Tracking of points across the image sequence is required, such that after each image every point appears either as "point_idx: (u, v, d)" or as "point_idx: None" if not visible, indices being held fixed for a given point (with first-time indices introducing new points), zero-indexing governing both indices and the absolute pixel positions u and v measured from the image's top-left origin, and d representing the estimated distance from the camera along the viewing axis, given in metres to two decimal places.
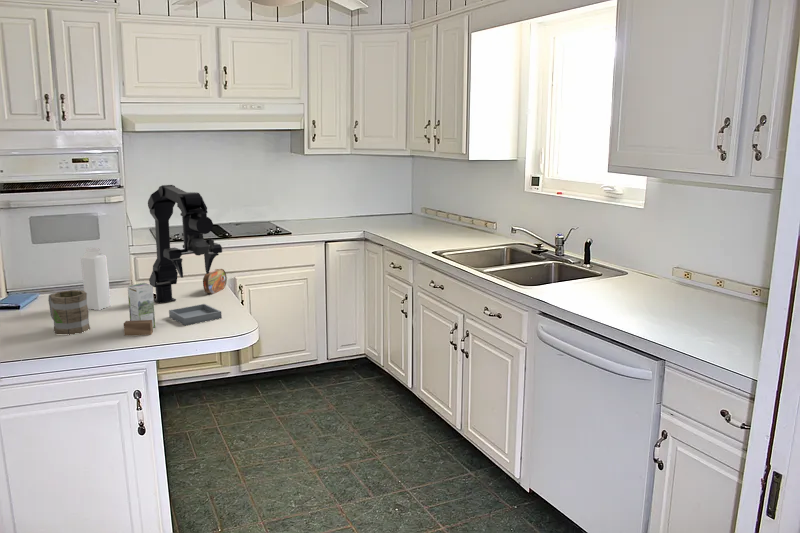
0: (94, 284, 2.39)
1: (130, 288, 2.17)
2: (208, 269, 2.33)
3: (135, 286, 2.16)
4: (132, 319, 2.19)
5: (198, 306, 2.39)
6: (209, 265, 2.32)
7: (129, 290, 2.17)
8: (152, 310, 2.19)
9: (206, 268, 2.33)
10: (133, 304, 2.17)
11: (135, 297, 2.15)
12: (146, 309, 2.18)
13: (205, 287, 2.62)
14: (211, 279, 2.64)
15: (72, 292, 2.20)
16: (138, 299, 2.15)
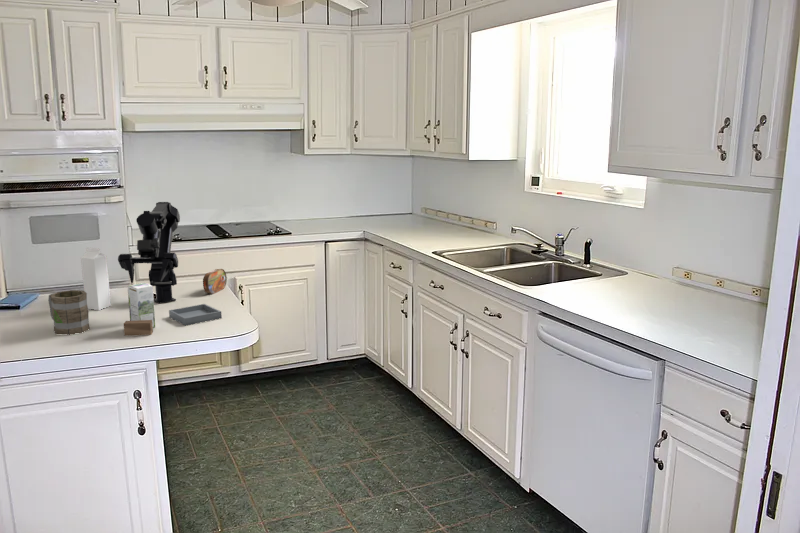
0: (94, 284, 2.39)
1: (130, 288, 2.17)
2: (160, 276, 2.27)
3: (135, 286, 2.16)
4: (132, 319, 2.19)
5: (198, 306, 2.39)
6: (161, 272, 2.28)
7: (129, 290, 2.17)
8: (152, 310, 2.19)
9: None
10: (133, 304, 2.17)
11: (135, 297, 2.15)
12: (146, 309, 2.18)
13: (205, 287, 2.62)
14: (211, 279, 2.64)
15: (72, 292, 2.20)
16: (138, 299, 2.15)
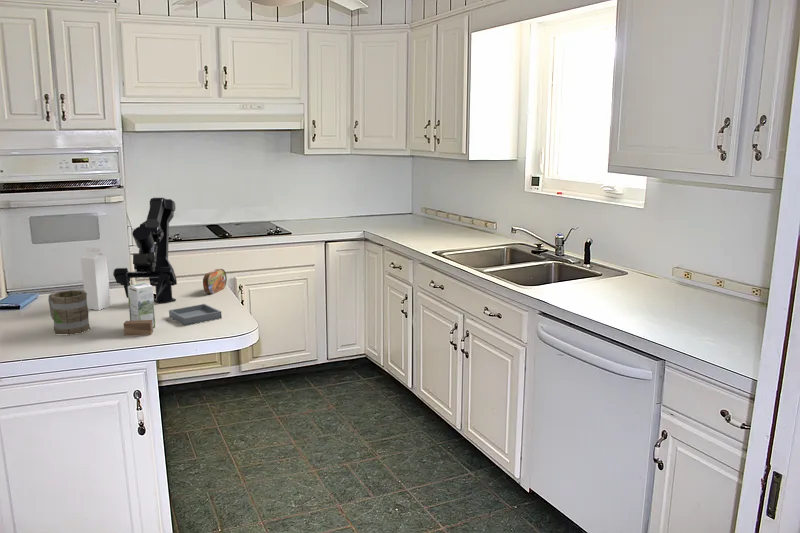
0: (94, 284, 2.39)
1: (130, 288, 2.17)
2: (157, 291, 2.21)
3: (135, 286, 2.16)
4: (132, 319, 2.19)
5: (198, 306, 2.39)
6: (158, 286, 2.22)
7: (129, 290, 2.17)
8: (152, 310, 2.19)
9: None
10: (133, 304, 2.17)
11: (135, 297, 2.15)
12: (146, 309, 2.18)
13: (205, 287, 2.62)
14: (211, 279, 2.64)
15: (72, 292, 2.20)
16: (138, 299, 2.15)
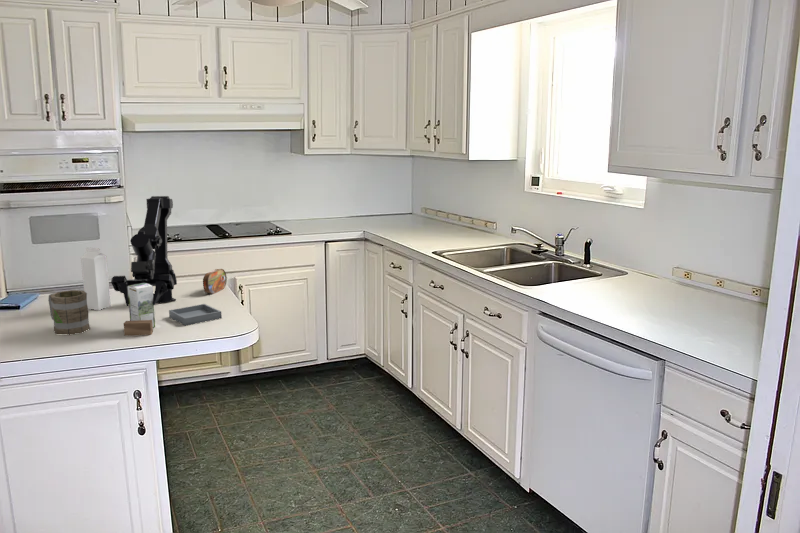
0: (94, 284, 2.39)
1: (130, 288, 2.16)
2: (154, 299, 2.19)
3: (135, 286, 2.16)
4: (132, 319, 2.19)
5: (198, 306, 2.39)
6: (155, 294, 2.19)
7: (129, 290, 2.17)
8: (152, 310, 2.19)
9: None
10: (133, 304, 2.17)
11: (135, 297, 2.15)
12: (146, 309, 2.18)
13: (205, 287, 2.62)
14: (211, 279, 2.64)
15: (72, 292, 2.20)
16: (138, 299, 2.15)
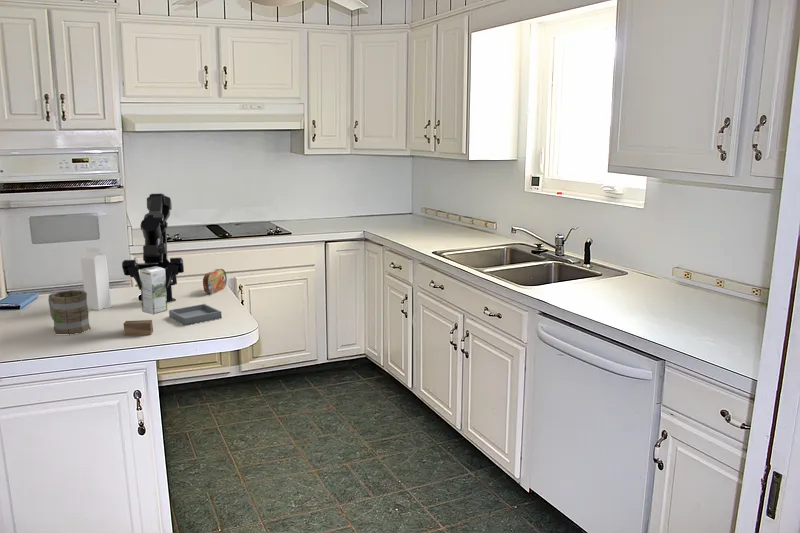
0: (94, 284, 2.39)
1: (143, 272, 2.17)
2: (166, 282, 2.20)
3: (148, 269, 2.17)
4: (144, 303, 2.19)
5: (198, 306, 2.39)
6: (167, 278, 2.21)
7: (141, 274, 2.18)
8: (164, 293, 2.21)
9: (166, 283, 2.21)
10: (146, 288, 2.18)
11: (149, 280, 2.16)
12: (159, 293, 2.19)
13: (205, 287, 2.62)
14: (211, 279, 2.64)
15: (72, 292, 2.20)
16: (152, 282, 2.16)
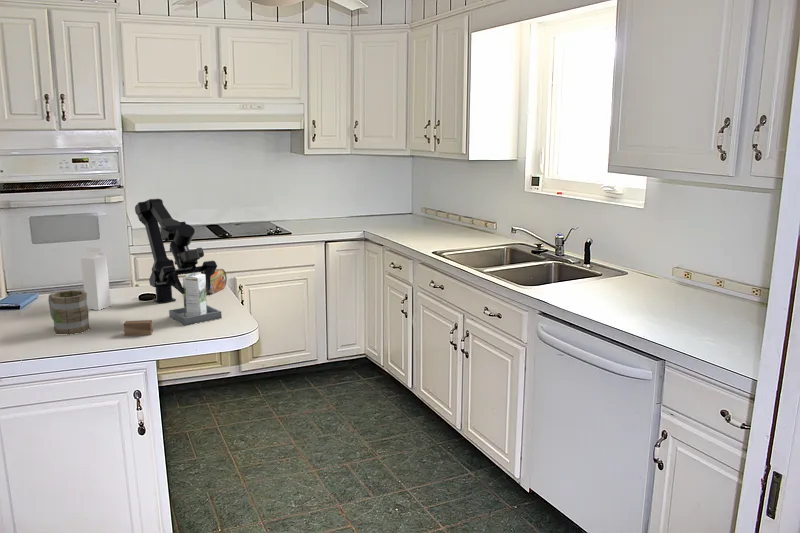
0: (94, 284, 2.39)
1: (187, 278, 2.26)
2: (209, 284, 2.32)
3: (192, 276, 2.27)
4: (188, 308, 2.28)
5: None
6: (208, 280, 2.32)
7: (185, 281, 2.27)
8: (205, 297, 2.32)
9: (207, 285, 2.32)
10: (191, 294, 2.27)
11: (195, 286, 2.26)
12: (202, 297, 2.30)
13: None
14: (211, 279, 2.64)
15: (72, 292, 2.20)
16: (199, 288, 2.27)
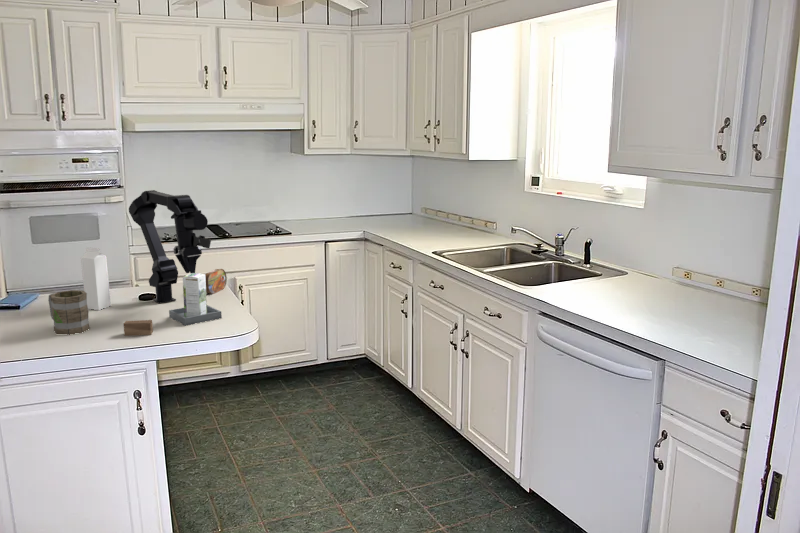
0: (94, 284, 2.39)
1: (187, 278, 2.26)
2: None
3: (192, 276, 2.27)
4: (188, 308, 2.28)
5: None
6: None
7: (185, 281, 2.27)
8: (205, 297, 2.32)
9: (186, 268, 2.45)
10: (191, 294, 2.27)
11: (195, 286, 2.26)
12: (202, 297, 2.30)
13: None
14: (211, 279, 2.64)
15: (72, 292, 2.20)
16: (199, 288, 2.27)
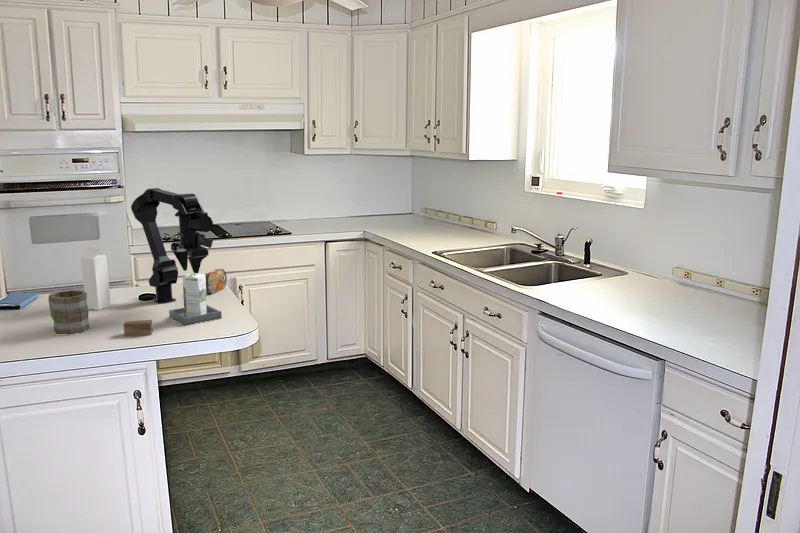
0: (94, 284, 2.39)
1: (187, 278, 2.26)
2: (186, 265, 2.46)
3: (192, 276, 2.27)
4: (188, 308, 2.28)
5: None
6: None
7: (185, 281, 2.27)
8: (205, 297, 2.32)
9: (184, 265, 2.45)
10: (191, 294, 2.27)
11: (195, 286, 2.26)
12: (202, 297, 2.30)
13: None
14: (211, 279, 2.64)
15: (72, 292, 2.20)
16: (199, 288, 2.27)
